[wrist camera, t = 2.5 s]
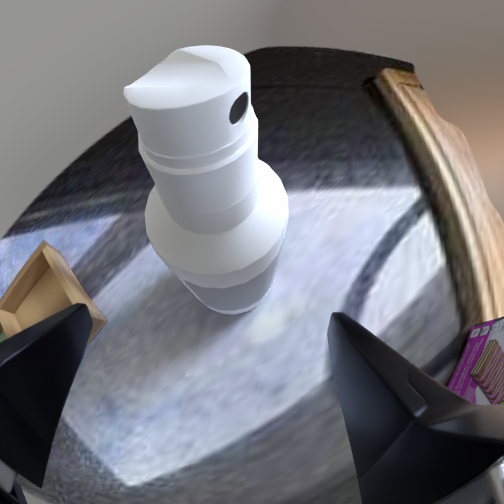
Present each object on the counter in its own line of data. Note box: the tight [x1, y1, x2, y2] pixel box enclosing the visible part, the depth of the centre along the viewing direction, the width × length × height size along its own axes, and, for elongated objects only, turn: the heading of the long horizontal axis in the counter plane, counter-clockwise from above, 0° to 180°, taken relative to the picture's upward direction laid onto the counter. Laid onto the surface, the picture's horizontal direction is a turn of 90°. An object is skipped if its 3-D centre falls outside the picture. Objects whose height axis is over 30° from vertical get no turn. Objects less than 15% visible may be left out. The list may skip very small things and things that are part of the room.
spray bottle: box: [123, 46, 289, 314], centre depth 14 cm, size 7×7×18 cm
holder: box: [0, 240, 107, 346], centre depth 18 cm, size 10×19×3 cm, turn 138°
